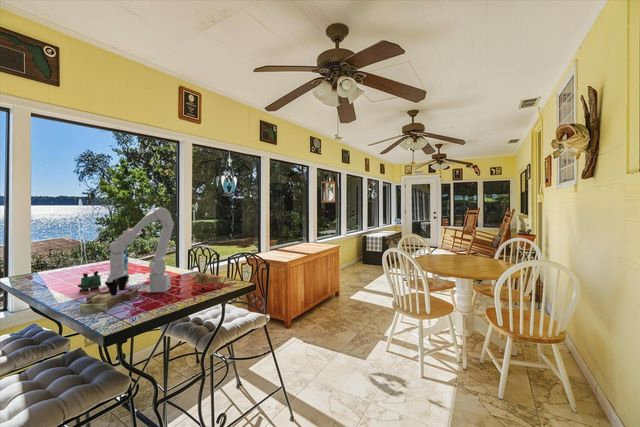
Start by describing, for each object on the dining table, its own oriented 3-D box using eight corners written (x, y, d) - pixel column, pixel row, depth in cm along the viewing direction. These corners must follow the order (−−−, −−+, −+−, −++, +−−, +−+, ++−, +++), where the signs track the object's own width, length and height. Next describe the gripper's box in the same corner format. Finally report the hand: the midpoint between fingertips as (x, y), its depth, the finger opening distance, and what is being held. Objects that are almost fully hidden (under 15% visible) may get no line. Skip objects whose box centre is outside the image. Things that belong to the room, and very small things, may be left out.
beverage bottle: (131, 283, 168) (131, 248, 167) (115, 286, 161) (114, 250, 160) (124, 280, 172) (124, 247, 172) (108, 284, 165) (107, 249, 165)
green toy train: (94, 270, 158) (102, 270, 153) (95, 289, 158) (103, 290, 152) (73, 273, 150) (81, 273, 145) (74, 293, 150) (82, 295, 145)
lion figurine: (195, 291, 154) (194, 274, 154) (194, 288, 159) (194, 272, 159) (224, 288, 160) (224, 272, 160) (223, 285, 165) (223, 270, 165)
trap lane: (140, 292, 151) (140, 286, 151) (113, 310, 125) (113, 303, 125) (106, 293, 148) (106, 287, 148) (72, 312, 123) (72, 305, 123)
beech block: (111, 304, 133) (110, 293, 133) (105, 308, 128) (104, 297, 128) (98, 305, 132) (98, 294, 132) (92, 309, 127) (92, 297, 127)
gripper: (116, 262, 150) (116, 288, 150) (99, 269, 135) (100, 298, 136) (131, 262, 151) (131, 288, 151) (116, 268, 136) (116, 297, 137)
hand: (117, 292), depth 144 cm, fingers open, 7 cm apart
